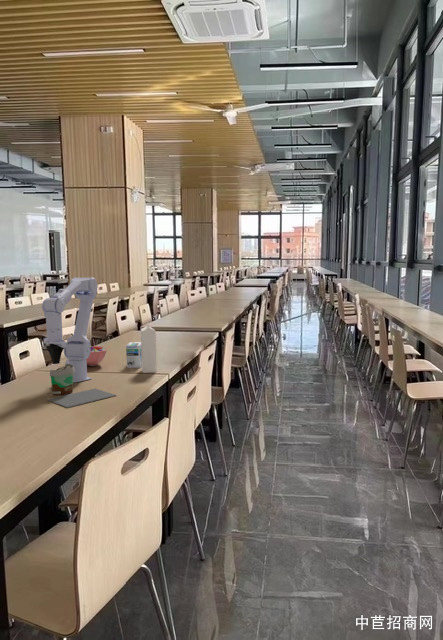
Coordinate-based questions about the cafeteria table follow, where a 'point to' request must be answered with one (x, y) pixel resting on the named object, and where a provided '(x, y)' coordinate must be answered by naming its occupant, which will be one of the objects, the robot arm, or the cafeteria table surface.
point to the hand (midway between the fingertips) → (56, 363)
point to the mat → (81, 398)
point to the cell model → (96, 355)
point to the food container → (62, 380)
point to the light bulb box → (133, 355)
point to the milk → (148, 349)
